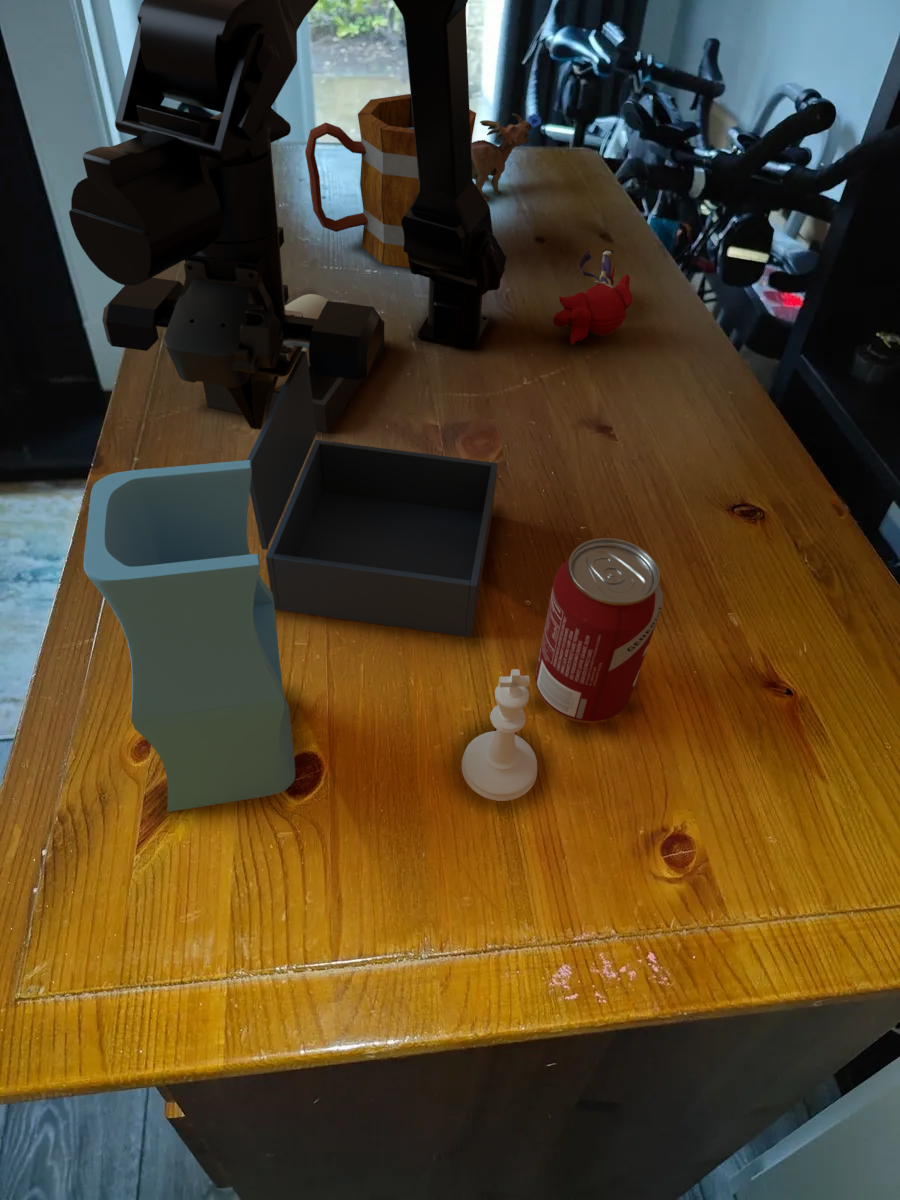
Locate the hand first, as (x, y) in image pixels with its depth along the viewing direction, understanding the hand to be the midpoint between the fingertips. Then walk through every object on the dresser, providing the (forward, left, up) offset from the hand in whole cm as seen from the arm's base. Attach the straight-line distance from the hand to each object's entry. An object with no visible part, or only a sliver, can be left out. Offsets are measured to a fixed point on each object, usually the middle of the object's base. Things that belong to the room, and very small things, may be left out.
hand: (258, 426), depth 66 cm
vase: (+23, +8, -8) cm, 26 cm away
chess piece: (+19, +25, -8) cm, 33 cm away
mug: (-50, -6, -8) cm, 51 cm away
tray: (-19, -5, -8) cm, 21 cm away
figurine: (-41, +21, -8) cm, 46 cm away
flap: (+4, +5, +2) cm, 7 cm away
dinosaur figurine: (-71, 0, -8) cm, 71 cm away
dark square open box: (+3, +12, -8) cm, 15 cm away
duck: (-23, -5, -4) cm, 24 cm away
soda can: (+11, +29, -8) cm, 32 cm away
